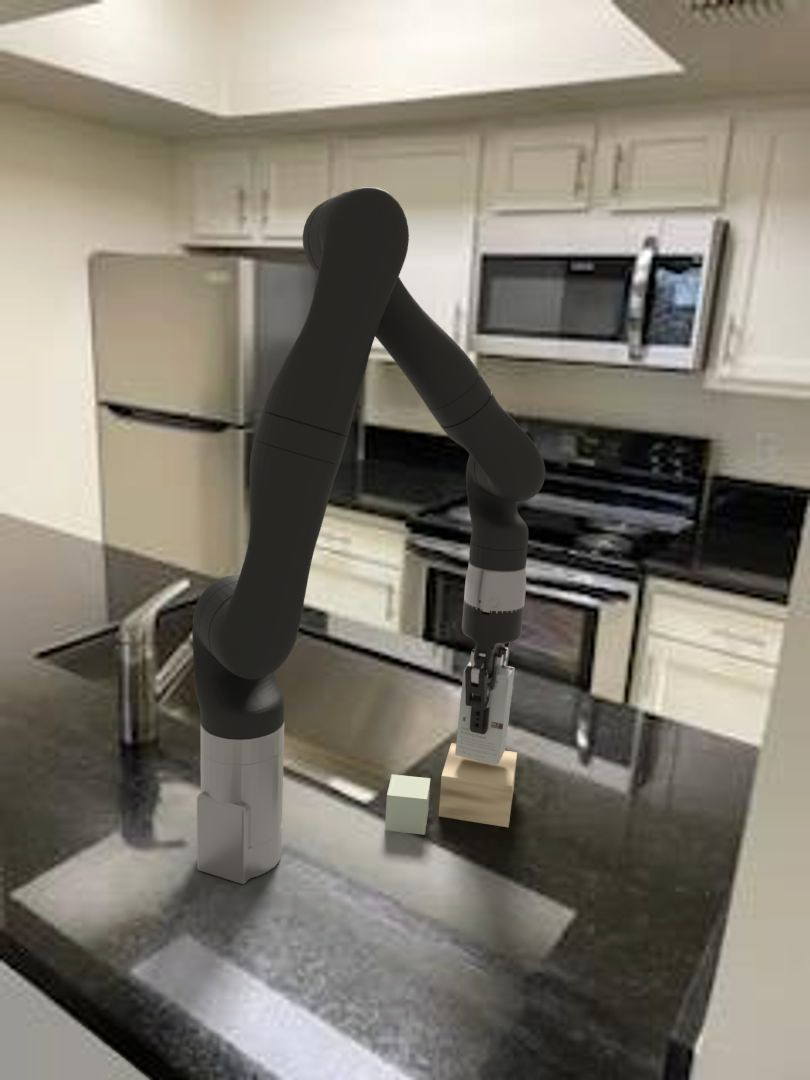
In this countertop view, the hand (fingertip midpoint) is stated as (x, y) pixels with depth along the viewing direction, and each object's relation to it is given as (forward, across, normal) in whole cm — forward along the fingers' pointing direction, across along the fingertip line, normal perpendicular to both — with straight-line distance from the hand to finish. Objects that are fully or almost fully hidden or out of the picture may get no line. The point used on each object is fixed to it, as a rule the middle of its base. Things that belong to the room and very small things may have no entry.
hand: (483, 723), depth 109 cm
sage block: (+12, +8, -7) cm, 16 cm away
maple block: (+12, 0, 0) cm, 12 cm away
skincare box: (+5, 0, 0) cm, 5 cm away
